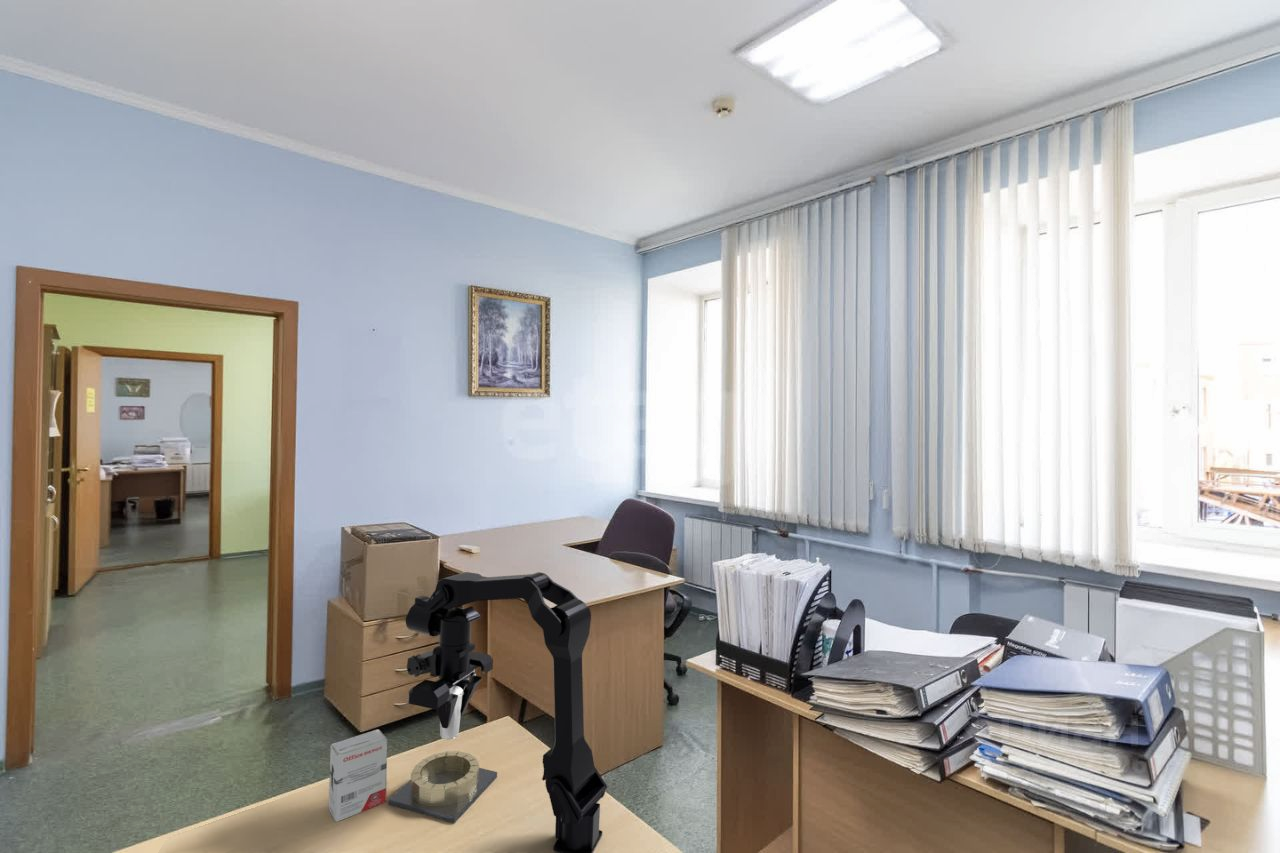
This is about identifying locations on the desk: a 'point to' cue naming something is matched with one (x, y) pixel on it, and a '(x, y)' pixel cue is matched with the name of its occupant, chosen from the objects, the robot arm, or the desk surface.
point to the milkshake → (454, 717)
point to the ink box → (357, 774)
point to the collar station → (444, 786)
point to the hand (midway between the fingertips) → (451, 722)
